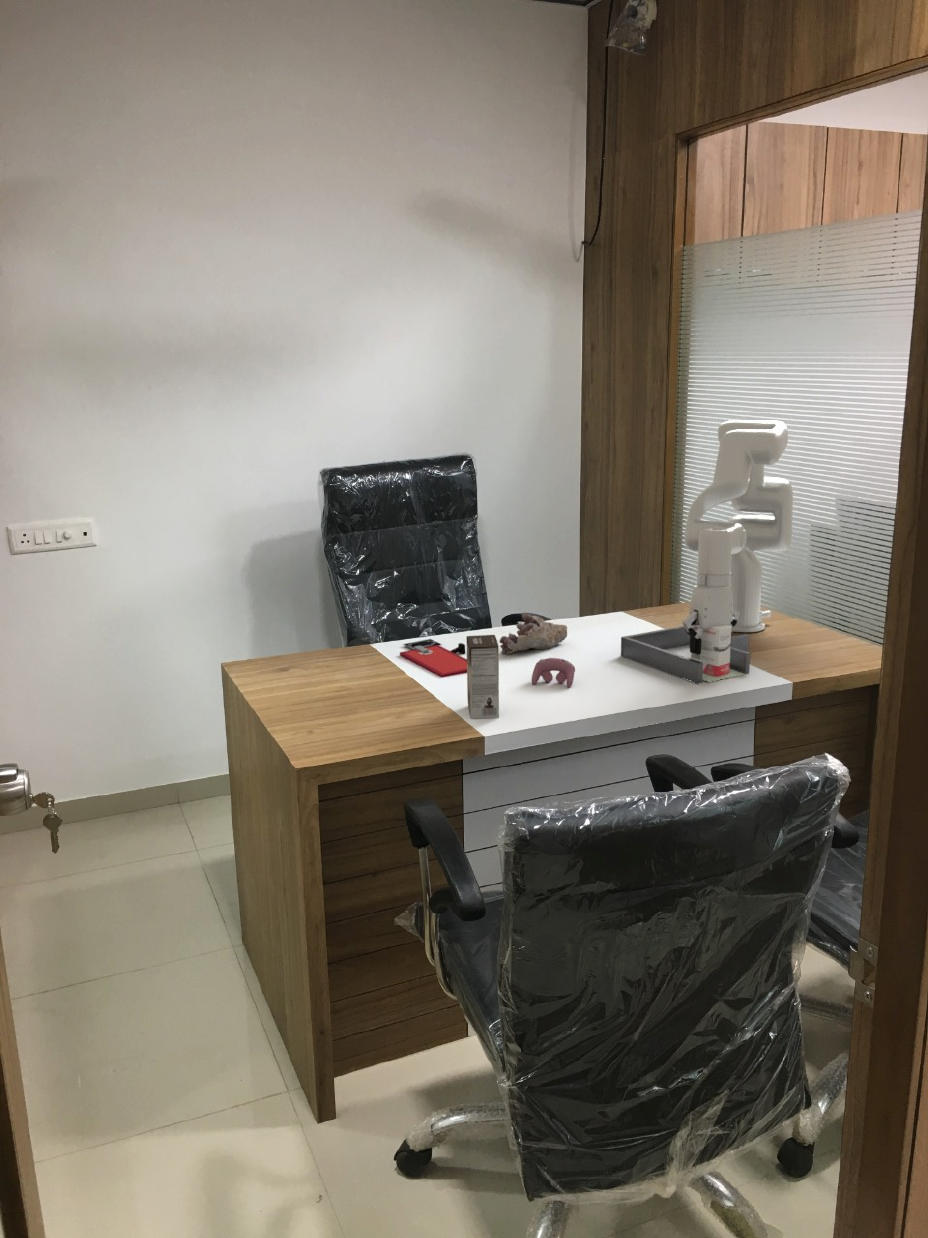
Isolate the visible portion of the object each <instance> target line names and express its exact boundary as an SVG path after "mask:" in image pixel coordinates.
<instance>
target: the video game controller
mask: <svg viewBox="0 0 928 1238" xmlns="http://www.w3.org/2000/svg"><path fill="white" fill-rule="evenodd" d="M551 671H552V672H557V674H556V675H555V680H556V682H557V683H559V684H563V683H565V682H566V687H567V688H568V689H569V688H571V687H572V685H573V683H574V677H575V672H576V667H575V666H574V664H573V663H571V662H570V661H569V660H565V659H563V658H558V657H557V658H556V657H548V658H541V659H540V660H538V661H537V662H536V663H535V666H534V668H533V671H532V674H531V683H532V685H533V686H534V685H536V684H538V682H539V680H540V678H541V677H542V680H543V681H544V682H545V683H551V681H553V678H554V677H553V673H552V672H551Z"/></svg>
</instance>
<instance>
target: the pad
mask: <svg viewBox="0 0 928 1238" xmlns="http://www.w3.org/2000/svg"><path fill="white" fill-rule="evenodd" d="M743 674H744V673H742V672H739V671H736V670H733V669H730V668H729V673H728V674H724V675H721V676H718V677H716V676H713V675H709V674H706V673H702V680H704V681H703V682H705V681H707V682H710V683H713V682H712V681H714V682H716V681H715V680H719V681H721V680H720V679H723V680H726V679H725V678H728V679H731V678H736V677H740V676H743ZM707 682H706V683H707Z"/></svg>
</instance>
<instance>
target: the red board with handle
mask: <svg viewBox="0 0 928 1238" xmlns="http://www.w3.org/2000/svg"><path fill="white" fill-rule="evenodd" d="M402 645H403V646H405V647H407V648H410V649H409V650H405V651H400V652H399V657H402V658H403V659H405V660H408V661H410V662H411V663H413V664H415V665H416V666H419V667H420V668H423V669H425V670H426V671H428V672H430V673H432V674H435V675H436V676H438V677H440V678H446V677H452V676H459V675H463V674H467V658H465V657H463V656H461V655H466V644H464V643H462V642H460V643H458V646H457V647H455V648H454V649H452V650H448V649H447V648H444V647H443V646H442V645H443V644H442V643H439V642H438V641H436V640H433V639H432V638H428V639H423V640H418V641H413V642H408V643H402ZM459 654H460V655H459Z"/></svg>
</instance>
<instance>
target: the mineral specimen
mask: <svg viewBox="0 0 928 1238" xmlns="http://www.w3.org/2000/svg"><path fill="white" fill-rule="evenodd" d="M521 619H522V621H523V622H524V623H518V624H516V625H515V626H516V628H517V631H516V634H517V635H518V636H517V635H516V634H514V633H511V632H509V634H508V636H506V635H503V636H501V637H500V639H499V641H498V642H499V644H500V645H499V648H500V649H501V652H500V653H501V654H502V655H506V656H509V655H511V654H513V653H515V652H517V651H526V650H529V649H536V650H541V649H542V648H547V649H551V648H553V647H554V646H556V645H558V644H561V643H562V642H564V641H565V639H567V637H568V626H567V625H565V624H554V623H553V622H549V621H545V620H544V618H541V617H540V616H536V615H531V614H529V613H523V614H521Z"/></svg>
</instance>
